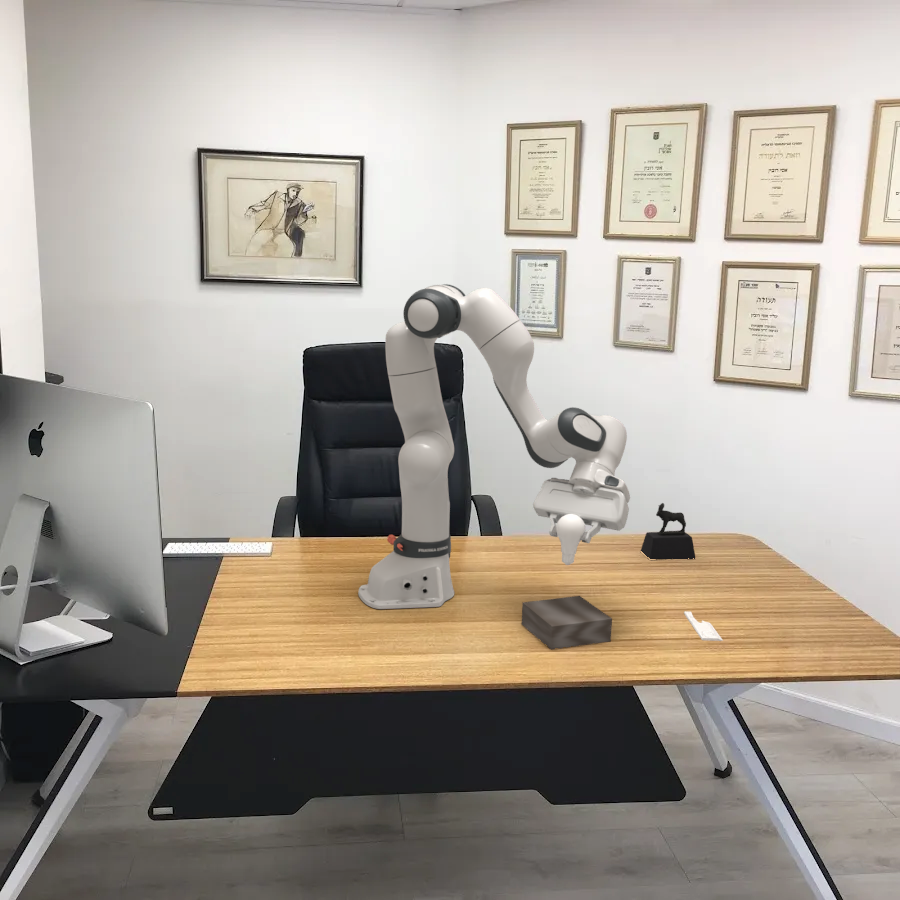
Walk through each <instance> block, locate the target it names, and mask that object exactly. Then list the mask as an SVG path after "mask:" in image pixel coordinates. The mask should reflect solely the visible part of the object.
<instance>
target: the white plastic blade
mask: <svg viewBox="0 0 900 900" xmlns="http://www.w3.org/2000/svg"><path fill="white" fill-rule="evenodd" d="M683 614H684V616H685V617H686V619H687V621H688V622H689V623H690V624H691V626H692V628H693V629H694V631H695V632H696V634H697V636H699V638H700V639H701V641H710V642H711V641H712V642H713V641H716V642H718V641H720V642H721V641H724V639H723V638H722V636H720V634H719V633H718V631H717V630H716V629H715V628H714V626H713V624H712V623H711V622H709V621H705V620H701V622H699V621H698V620H697V619H696V618H695V617H694V615H693V613H692V611H684V612H683Z"/></svg>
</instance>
